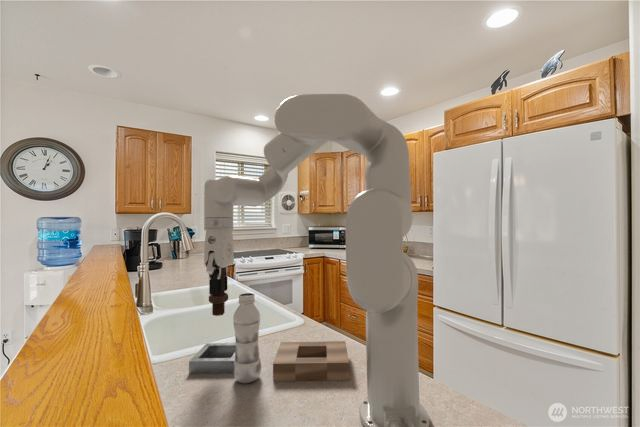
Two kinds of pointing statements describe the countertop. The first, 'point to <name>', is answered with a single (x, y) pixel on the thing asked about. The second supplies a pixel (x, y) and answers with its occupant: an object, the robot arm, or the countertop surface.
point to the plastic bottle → (246, 340)
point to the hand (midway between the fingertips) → (218, 291)
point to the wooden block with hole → (311, 361)
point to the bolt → (219, 297)
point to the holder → (213, 359)
